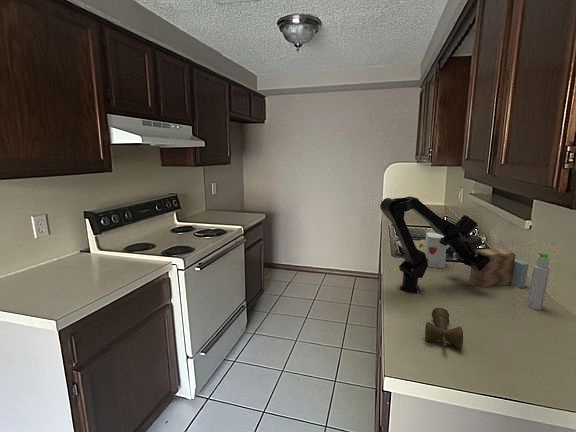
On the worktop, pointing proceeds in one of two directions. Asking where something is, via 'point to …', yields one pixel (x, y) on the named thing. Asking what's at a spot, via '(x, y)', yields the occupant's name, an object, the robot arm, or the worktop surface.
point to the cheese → (416, 244)
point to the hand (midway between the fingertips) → (477, 268)
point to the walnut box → (494, 268)
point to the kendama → (443, 329)
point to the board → (519, 273)
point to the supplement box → (435, 250)
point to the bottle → (539, 282)
